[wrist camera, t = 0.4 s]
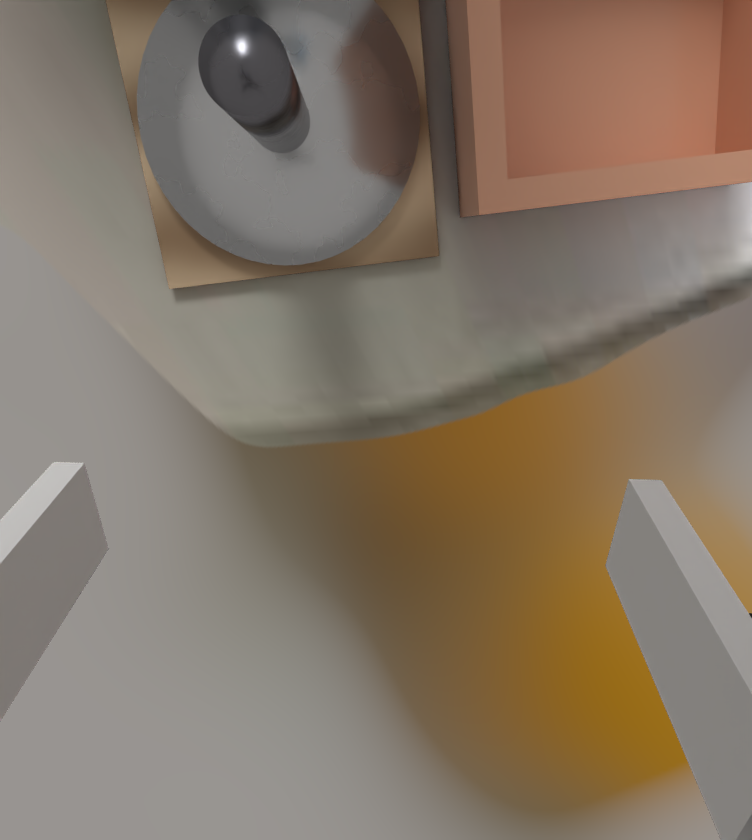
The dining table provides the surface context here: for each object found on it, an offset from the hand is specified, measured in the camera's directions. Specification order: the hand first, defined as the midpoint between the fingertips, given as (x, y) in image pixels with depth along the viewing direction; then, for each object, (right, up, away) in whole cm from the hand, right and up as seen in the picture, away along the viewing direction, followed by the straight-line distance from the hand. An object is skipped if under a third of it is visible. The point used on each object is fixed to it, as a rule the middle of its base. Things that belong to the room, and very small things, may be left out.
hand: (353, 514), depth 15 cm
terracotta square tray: (+12, +23, +18) cm, 31 cm away
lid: (-5, +19, +18) cm, 26 cm away
